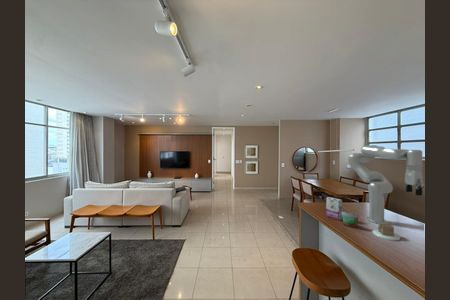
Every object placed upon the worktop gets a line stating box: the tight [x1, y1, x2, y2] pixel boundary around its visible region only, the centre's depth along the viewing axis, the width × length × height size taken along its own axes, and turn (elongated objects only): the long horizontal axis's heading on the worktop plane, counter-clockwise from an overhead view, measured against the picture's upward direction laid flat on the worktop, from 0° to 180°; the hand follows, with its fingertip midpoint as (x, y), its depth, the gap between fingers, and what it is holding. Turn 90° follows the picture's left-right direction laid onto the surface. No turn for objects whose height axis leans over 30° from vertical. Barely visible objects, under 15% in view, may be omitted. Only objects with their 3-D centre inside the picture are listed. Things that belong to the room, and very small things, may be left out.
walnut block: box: [377, 223, 395, 236], centre depth 127 cm, size 6×6×6 cm
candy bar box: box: [325, 196, 343, 221], centre depth 159 cm, size 11×5×16 cm, turn 30°
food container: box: [341, 209, 360, 229], centre depth 143 cm, size 12×6×10 cm, turn 23°
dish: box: [372, 228, 401, 242], centre depth 127 cm, size 14×14×1 cm
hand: (413, 193), depth 127 cm, fingers open, 9 cm apart
